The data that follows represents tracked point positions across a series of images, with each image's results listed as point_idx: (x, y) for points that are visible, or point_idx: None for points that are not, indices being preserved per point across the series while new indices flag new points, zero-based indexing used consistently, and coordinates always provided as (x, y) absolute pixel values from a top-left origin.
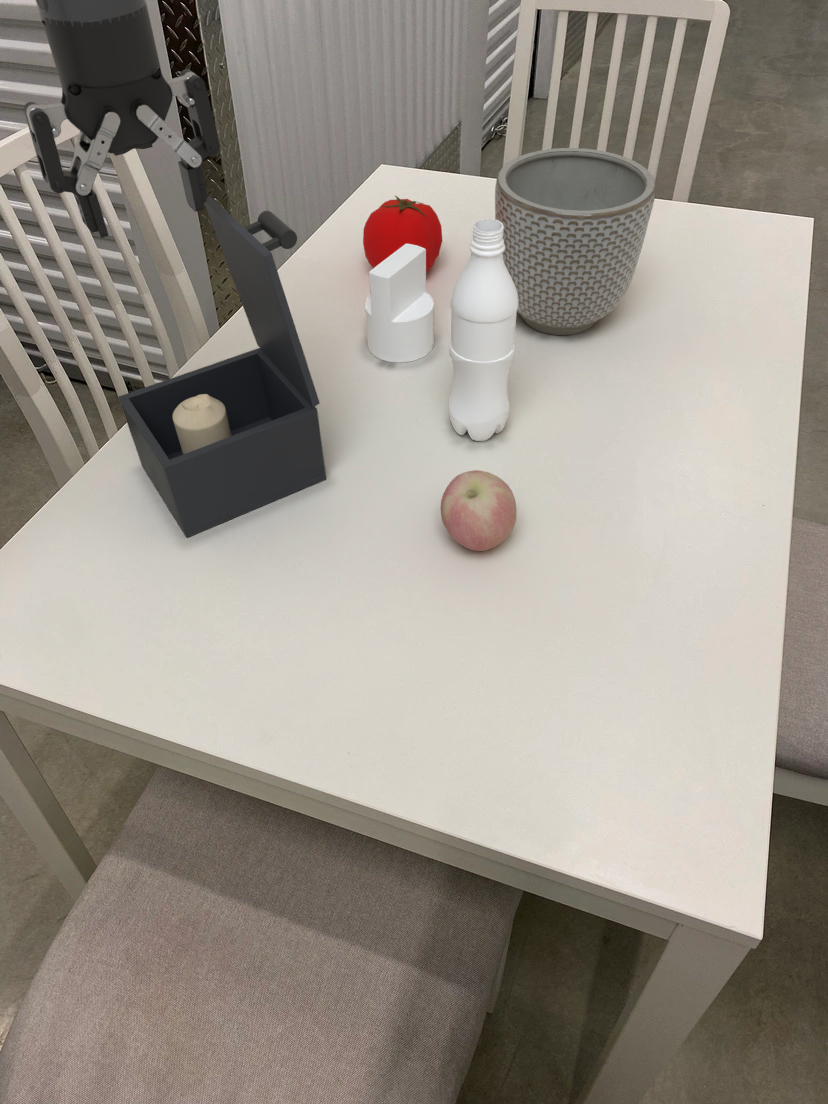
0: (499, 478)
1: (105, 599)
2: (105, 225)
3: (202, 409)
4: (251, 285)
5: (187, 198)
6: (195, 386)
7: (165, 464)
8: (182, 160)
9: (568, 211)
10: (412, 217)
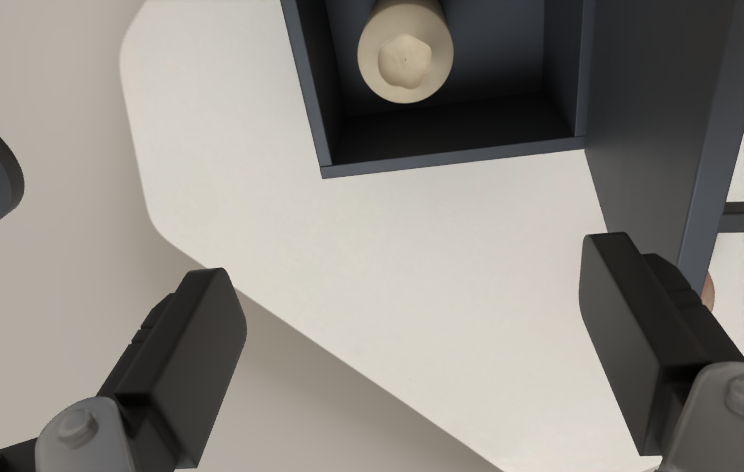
0: (710, 309)
1: (239, 175)
2: (236, 360)
3: (411, 68)
4: (638, 94)
5: (592, 262)
6: None
7: (325, 174)
8: (673, 420)
9: None
10: None
